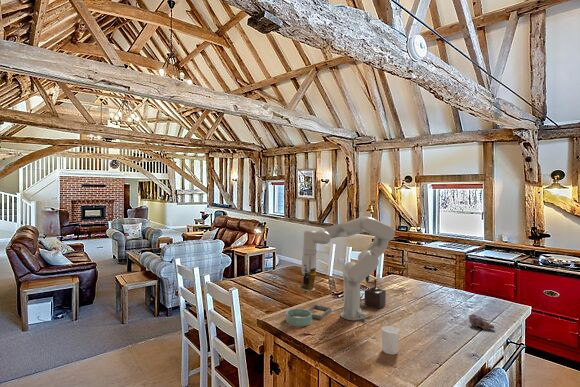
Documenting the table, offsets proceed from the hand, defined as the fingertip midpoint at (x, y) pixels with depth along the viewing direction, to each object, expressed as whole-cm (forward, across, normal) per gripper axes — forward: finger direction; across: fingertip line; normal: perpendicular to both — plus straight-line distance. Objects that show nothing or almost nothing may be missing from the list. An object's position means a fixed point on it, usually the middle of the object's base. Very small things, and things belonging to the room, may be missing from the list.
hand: (308, 282), depth 187 cm
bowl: (+20, +8, -1) cm, 22 cm away
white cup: (+19, +15, +51) cm, 57 cm away
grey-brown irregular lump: (+18, -39, +86) cm, 96 cm away
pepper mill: (+19, -43, +24) cm, 53 cm away
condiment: (+3, +1, -1) cm, 3 cm away
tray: (+20, -8, +2) cm, 21 cm away
